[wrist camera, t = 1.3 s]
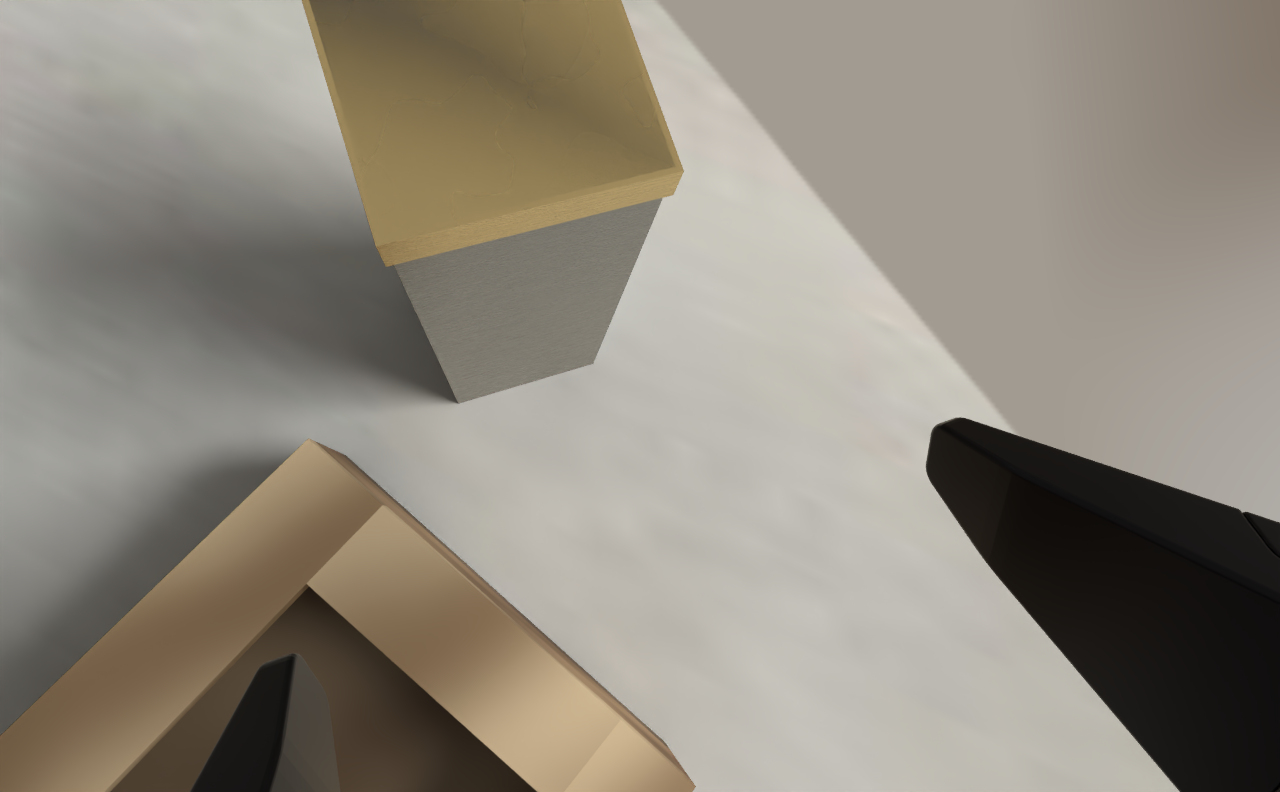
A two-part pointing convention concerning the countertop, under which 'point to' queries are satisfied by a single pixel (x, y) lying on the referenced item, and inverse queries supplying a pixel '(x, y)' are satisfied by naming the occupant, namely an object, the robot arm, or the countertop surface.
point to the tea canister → (500, 169)
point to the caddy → (334, 662)
